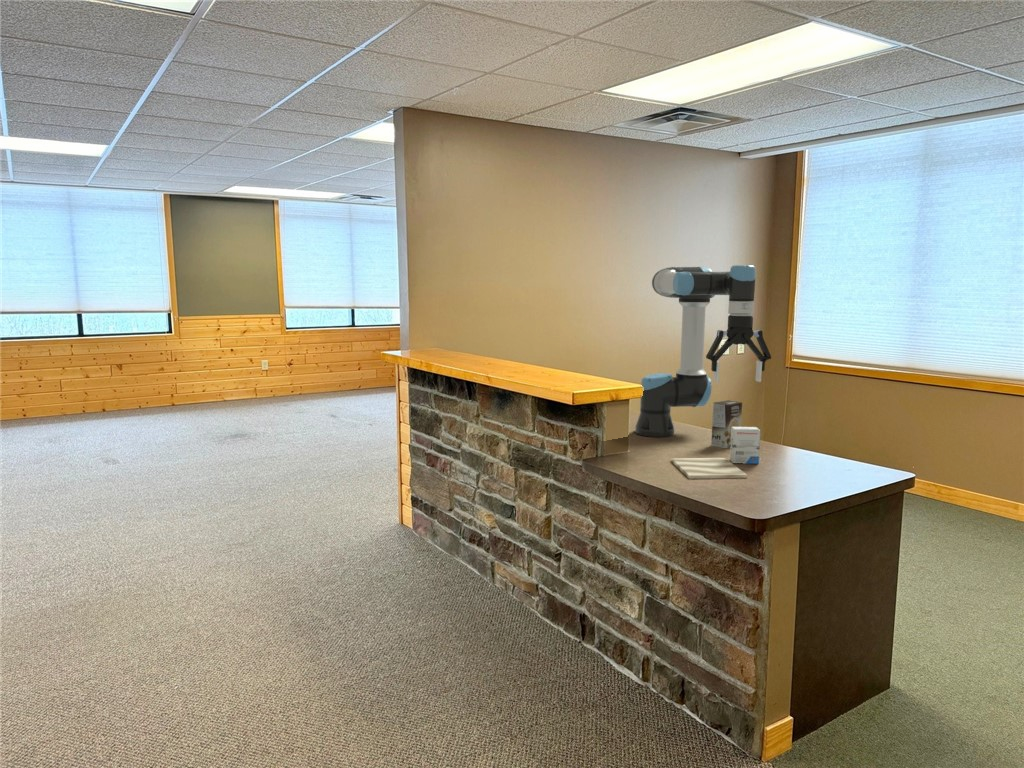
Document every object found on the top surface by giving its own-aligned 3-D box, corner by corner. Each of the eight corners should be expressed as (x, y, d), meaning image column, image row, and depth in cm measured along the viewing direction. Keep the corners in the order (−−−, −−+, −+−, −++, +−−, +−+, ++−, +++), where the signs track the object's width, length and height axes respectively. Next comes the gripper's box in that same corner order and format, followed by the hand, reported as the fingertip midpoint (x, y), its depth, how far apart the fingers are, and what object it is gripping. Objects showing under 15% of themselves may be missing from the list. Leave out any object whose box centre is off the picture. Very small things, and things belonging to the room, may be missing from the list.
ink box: (755, 460, 231) (757, 426, 229) (759, 464, 226) (761, 429, 224) (729, 459, 232) (730, 425, 230) (732, 463, 227) (734, 429, 225)
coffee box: (725, 449, 246) (727, 405, 244) (710, 445, 251) (712, 402, 249) (740, 445, 252) (742, 402, 249) (725, 441, 257) (727, 399, 254)
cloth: (671, 461, 230) (671, 458, 230) (724, 460, 230) (724, 457, 230) (689, 478, 210) (689, 475, 210) (746, 477, 211) (747, 474, 211)
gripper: (705, 315, 212) (702, 383, 215) (784, 315, 213) (780, 383, 216) (697, 314, 219) (695, 380, 222) (774, 314, 220) (770, 379, 223)
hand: (737, 381), depth 219 cm, fingers open, 13 cm apart
